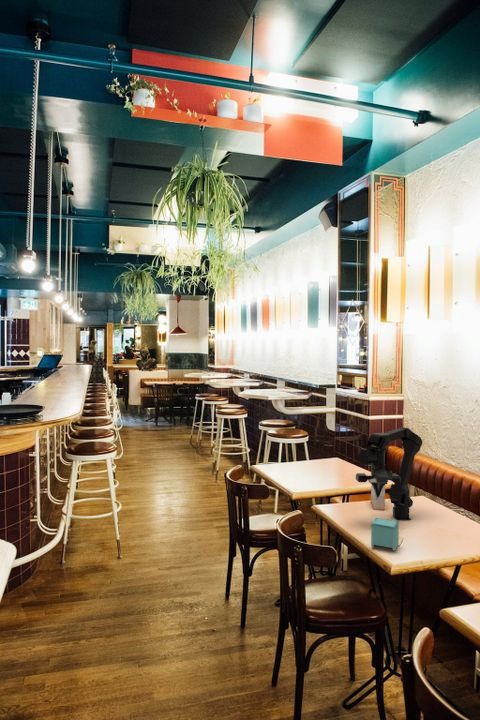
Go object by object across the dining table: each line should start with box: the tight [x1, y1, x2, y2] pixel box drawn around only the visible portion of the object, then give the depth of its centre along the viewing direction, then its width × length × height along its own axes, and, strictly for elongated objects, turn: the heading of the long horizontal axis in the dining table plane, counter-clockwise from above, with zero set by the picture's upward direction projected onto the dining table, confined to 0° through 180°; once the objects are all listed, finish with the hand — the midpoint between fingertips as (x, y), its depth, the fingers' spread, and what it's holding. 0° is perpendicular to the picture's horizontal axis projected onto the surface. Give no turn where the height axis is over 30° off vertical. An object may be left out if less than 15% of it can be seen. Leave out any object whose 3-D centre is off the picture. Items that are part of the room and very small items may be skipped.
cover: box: [370, 517, 400, 551], centre depth 193 cm, size 8×9×9 cm
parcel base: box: [396, 536, 404, 548], centre depth 200 cm, size 10×10×1 cm
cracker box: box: [370, 482, 386, 511], centre depth 246 cm, size 14×6×21 cm, turn 168°
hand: (377, 497), depth 218 cm, fingers closed
